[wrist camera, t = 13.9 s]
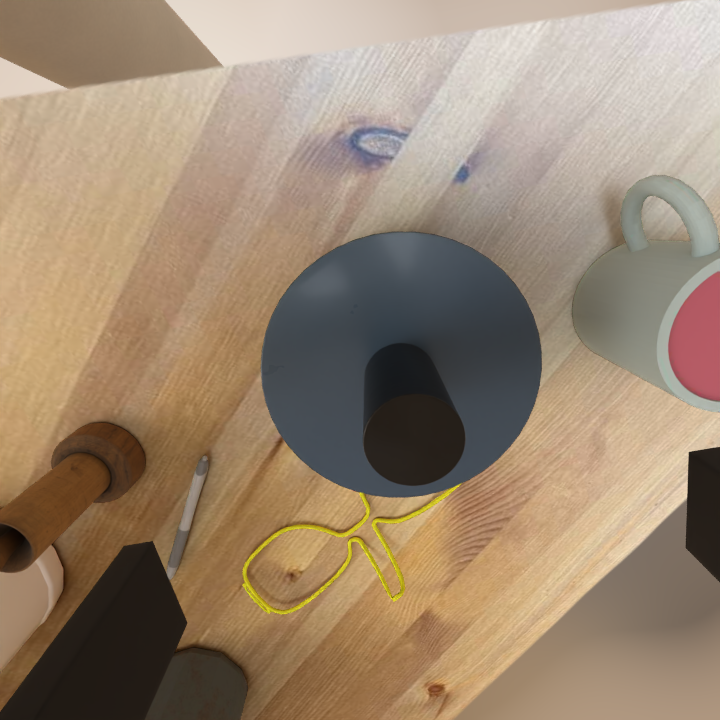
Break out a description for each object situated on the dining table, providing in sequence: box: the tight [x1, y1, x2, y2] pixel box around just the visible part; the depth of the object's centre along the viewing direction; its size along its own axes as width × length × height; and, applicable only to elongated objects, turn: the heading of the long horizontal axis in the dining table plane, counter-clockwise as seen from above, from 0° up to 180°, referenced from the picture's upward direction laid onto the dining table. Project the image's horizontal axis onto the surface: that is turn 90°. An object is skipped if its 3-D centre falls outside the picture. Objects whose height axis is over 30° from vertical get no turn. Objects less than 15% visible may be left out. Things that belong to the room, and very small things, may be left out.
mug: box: [572, 175, 720, 412], centre depth 27 cm, size 14×9×10 cm
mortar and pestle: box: [0, 423, 145, 573], centre depth 28 cm, size 7×6×18 cm
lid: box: [261, 232, 542, 497], centre depth 21 cm, size 16×16×9 cm
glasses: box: [243, 483, 462, 614], centre depth 36 cm, size 25×10×5 cm, turn 134°
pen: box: [167, 455, 209, 580], centre depth 38 cm, size 1×14×1 cm, turn 160°
